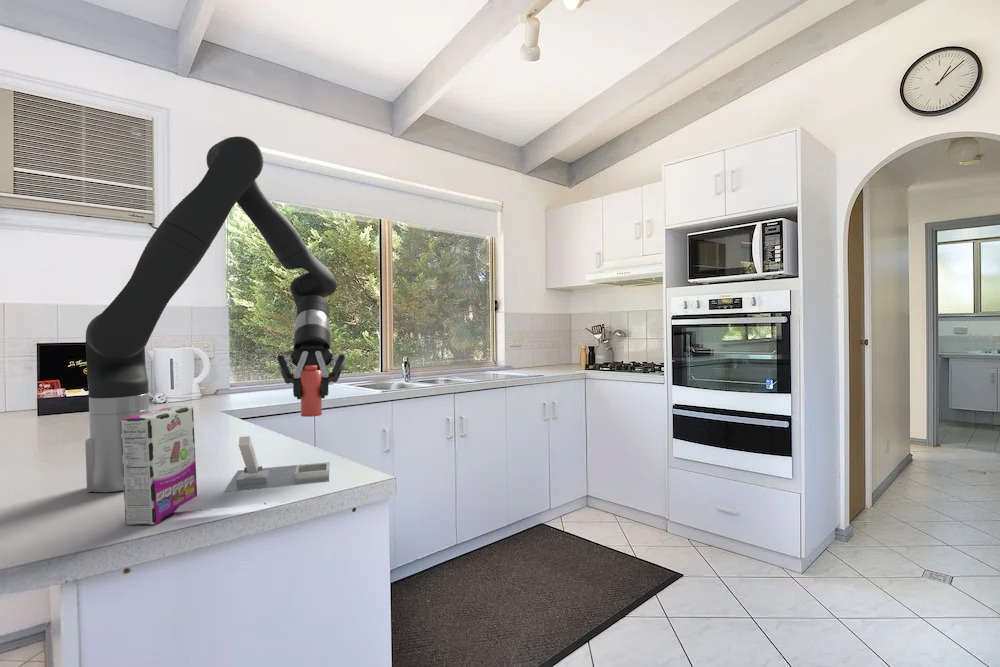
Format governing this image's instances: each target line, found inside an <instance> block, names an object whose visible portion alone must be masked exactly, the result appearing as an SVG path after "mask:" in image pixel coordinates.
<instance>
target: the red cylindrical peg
mask: <svg viewBox="0 0 1000 667" xmlns="http://www.w3.org/2000/svg"><path fill="white" fill-rule="evenodd" d="M321 378H322V374H321V370H317V365H308V366H305V370H303V371H301V399H300V416H301V417H303V418H304V417H307V418H310V417H320V416H322V415H323V411H322V410H323V405H322V404H323V403H322V402H323V401H322V399H323V398H322V399H321Z"/></svg>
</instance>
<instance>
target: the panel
mask: <svg viewBox="0 0 1000 667" xmlns="http://www.w3.org/2000/svg"><path fill="white" fill-rule="evenodd" d="M328 482H330V461H328V462H315V463H304V464H296V465H283V466H274V467H273V466H272V467H262V471H261V472H258V473H253V474H248V473H244V469H241V470H239V469H238V470H237V471H236V472H235V473H234V475H233V476H232V478H231V479H230V482H229V483H228V485H227V486H226V488H225V489H224V490H223V493H230V492H231V493H232V492H238V491H239V492H240V491H249V490H251V491H252V490H257V489H259V490H260V489H269V488H279V487H287V486H288V487H289V486H297V485H309V484H318V483H319V484H320V483H328Z"/></svg>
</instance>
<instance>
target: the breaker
mask: <svg viewBox="0 0 1000 667" xmlns="http://www.w3.org/2000/svg"><path fill="white" fill-rule="evenodd" d="M238 447H239V450H240V454H241V456H242V459H243V462H244V465H245V467H244V468H243V470H244V473H248V474H253V473H258V472H261V471H262V468H263V465H259V463H258V460H257V456H256V452H255V449H254V446H253V443H252V439H251V436H249V435H248V436H246V435H245V436H239V440H238Z"/></svg>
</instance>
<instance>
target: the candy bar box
mask: <svg viewBox="0 0 1000 667" xmlns="http://www.w3.org/2000/svg"><path fill="white" fill-rule="evenodd" d="M120 422H121V441H122V461H123V481H124V490H123V495H124V496H123V497H124V515H125V518H124V520H125V526H153V525H157V524H159V523H161V522H163V521H165V520H166V519H167V518H170V517H172V516H174V515H175V514H177V513H178V512H177V510H178V508H179V507H180V506H182V505H184V504H185V503H187V502H189V501H191V500H193V499H194V498H196V497H198V487H197V486H198V485H197V482H198V481H197V468H196V467H197V465H196V464H197V463H196V444H195V443H196V442H195V440H196V439H195V420H194V406H189V405H188V406H182V405H181V406H179V405H178V406H166V407H162V408H158V409H155V410H151V411H150V410H149V412H147V413H143V414H139V415H135V416H131V417H128V418H124V419H121V420H120Z"/></svg>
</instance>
